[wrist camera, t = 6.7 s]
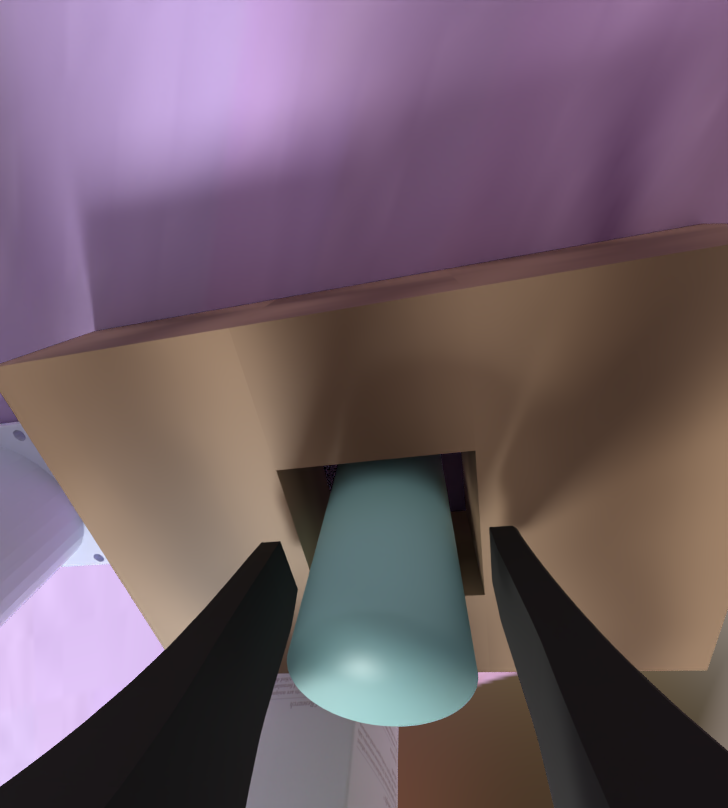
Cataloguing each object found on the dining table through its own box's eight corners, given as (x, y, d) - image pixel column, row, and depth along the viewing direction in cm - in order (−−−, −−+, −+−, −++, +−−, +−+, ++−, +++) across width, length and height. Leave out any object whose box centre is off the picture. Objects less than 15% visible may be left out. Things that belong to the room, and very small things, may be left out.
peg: (353, 504, 16) (315, 726, 9) (330, 424, 15) (261, 617, 7) (446, 493, 15) (485, 725, 8) (433, 408, 14) (467, 604, 7)
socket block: (221, 591, 19) (180, 674, 16) (94, 331, 14) (-15, 368, 10) (639, 572, 16) (707, 670, 13) (702, 224, 11) (857, 222, 7)
